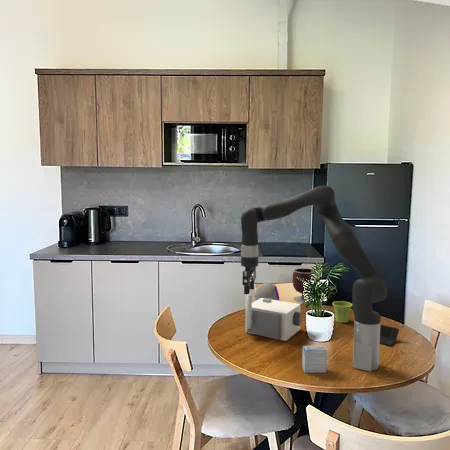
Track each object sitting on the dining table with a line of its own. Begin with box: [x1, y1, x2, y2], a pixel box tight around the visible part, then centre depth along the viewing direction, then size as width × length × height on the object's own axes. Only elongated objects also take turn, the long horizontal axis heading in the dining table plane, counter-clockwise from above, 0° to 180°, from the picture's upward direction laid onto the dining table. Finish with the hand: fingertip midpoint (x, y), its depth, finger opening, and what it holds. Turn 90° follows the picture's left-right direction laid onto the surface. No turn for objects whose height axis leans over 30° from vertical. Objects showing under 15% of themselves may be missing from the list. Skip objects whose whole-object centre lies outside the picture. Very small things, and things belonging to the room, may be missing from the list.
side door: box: [245, 293, 282, 340], centre depth 187 cm, size 5×16×18 cm, turn 59°
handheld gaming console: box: [380, 324, 400, 348], centre depth 186 cm, size 12×7×10 cm
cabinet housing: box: [244, 298, 303, 342], centre depth 196 cm, size 16×22×13 cm
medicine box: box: [301, 345, 328, 374], centre depth 157 cm, size 8×4×9 cm, turn 92°
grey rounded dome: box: [254, 282, 280, 301], centre depth 225 cm, size 13×13×15 cm
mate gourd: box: [292, 267, 314, 304], centre depth 245 cm, size 16×14×20 cm
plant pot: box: [332, 300, 353, 324], centre depth 210 cm, size 9×9×9 cm
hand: (249, 291), depth 188 cm, fingers open, 8 cm apart
